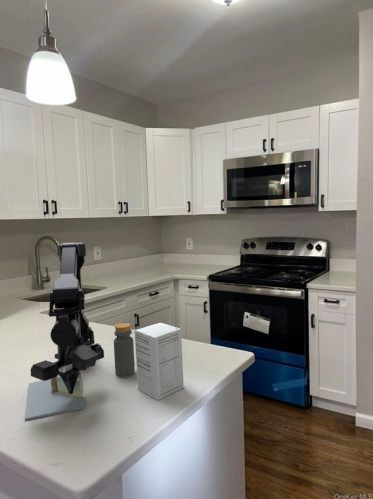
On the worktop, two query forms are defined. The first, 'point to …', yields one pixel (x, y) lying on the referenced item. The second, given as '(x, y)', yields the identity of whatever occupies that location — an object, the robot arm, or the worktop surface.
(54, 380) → the wooden wall with posts
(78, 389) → the fence panel
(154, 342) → the supplement box
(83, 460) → the worktop surface
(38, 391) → the board
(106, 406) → the worktop surface
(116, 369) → the bottle
